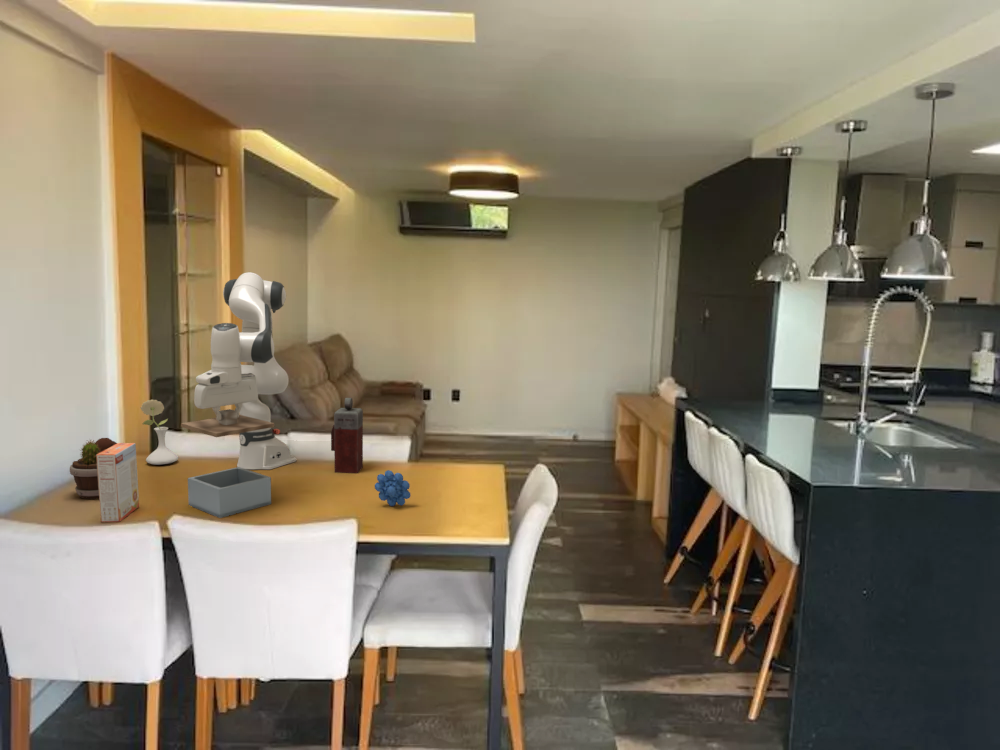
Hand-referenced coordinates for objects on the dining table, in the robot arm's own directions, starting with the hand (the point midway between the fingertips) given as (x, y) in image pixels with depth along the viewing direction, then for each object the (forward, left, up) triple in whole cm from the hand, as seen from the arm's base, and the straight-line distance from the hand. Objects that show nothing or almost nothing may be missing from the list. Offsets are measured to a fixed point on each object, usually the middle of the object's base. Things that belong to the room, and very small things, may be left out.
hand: (227, 418), depth 222 cm
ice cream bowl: (+12, -57, -28) cm, 65 cm away
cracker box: (+27, -16, -28) cm, 42 cm away
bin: (0, 0, -28) cm, 28 cm away
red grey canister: (-52, -5, -28) cm, 59 cm away
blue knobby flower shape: (-33, +40, -28) cm, 59 cm away
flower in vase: (-10, -64, -28) cm, 71 cm away
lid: (0, 0, -3) cm, 3 cm away
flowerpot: (+23, -41, -28) cm, 55 cm away
